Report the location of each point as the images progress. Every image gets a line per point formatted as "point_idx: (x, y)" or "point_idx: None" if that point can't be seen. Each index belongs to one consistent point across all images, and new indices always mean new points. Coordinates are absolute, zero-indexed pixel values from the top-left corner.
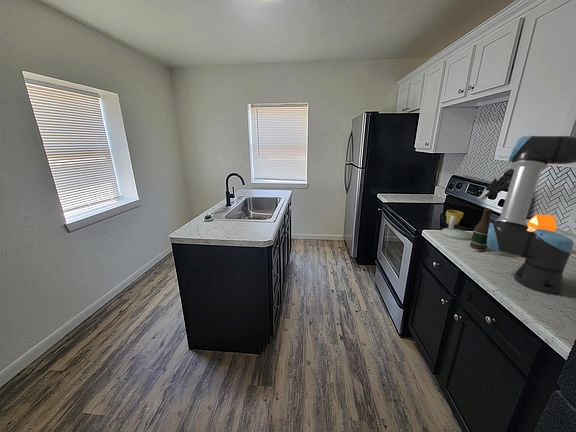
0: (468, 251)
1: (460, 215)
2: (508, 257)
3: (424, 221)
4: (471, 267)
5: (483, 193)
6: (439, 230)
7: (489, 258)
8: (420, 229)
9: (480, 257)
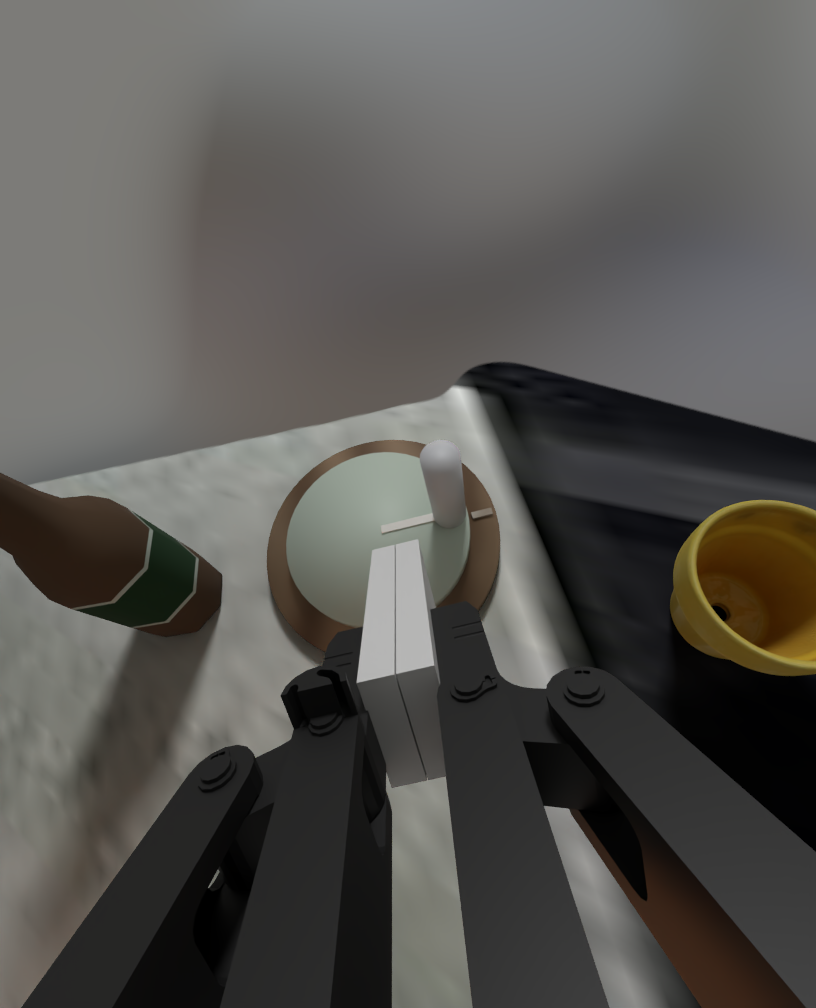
0: None
1: (701, 617)
2: (81, 735)
3: (691, 422)
4: None
5: (426, 596)
6: None
7: None
8: (472, 378)
9: None
